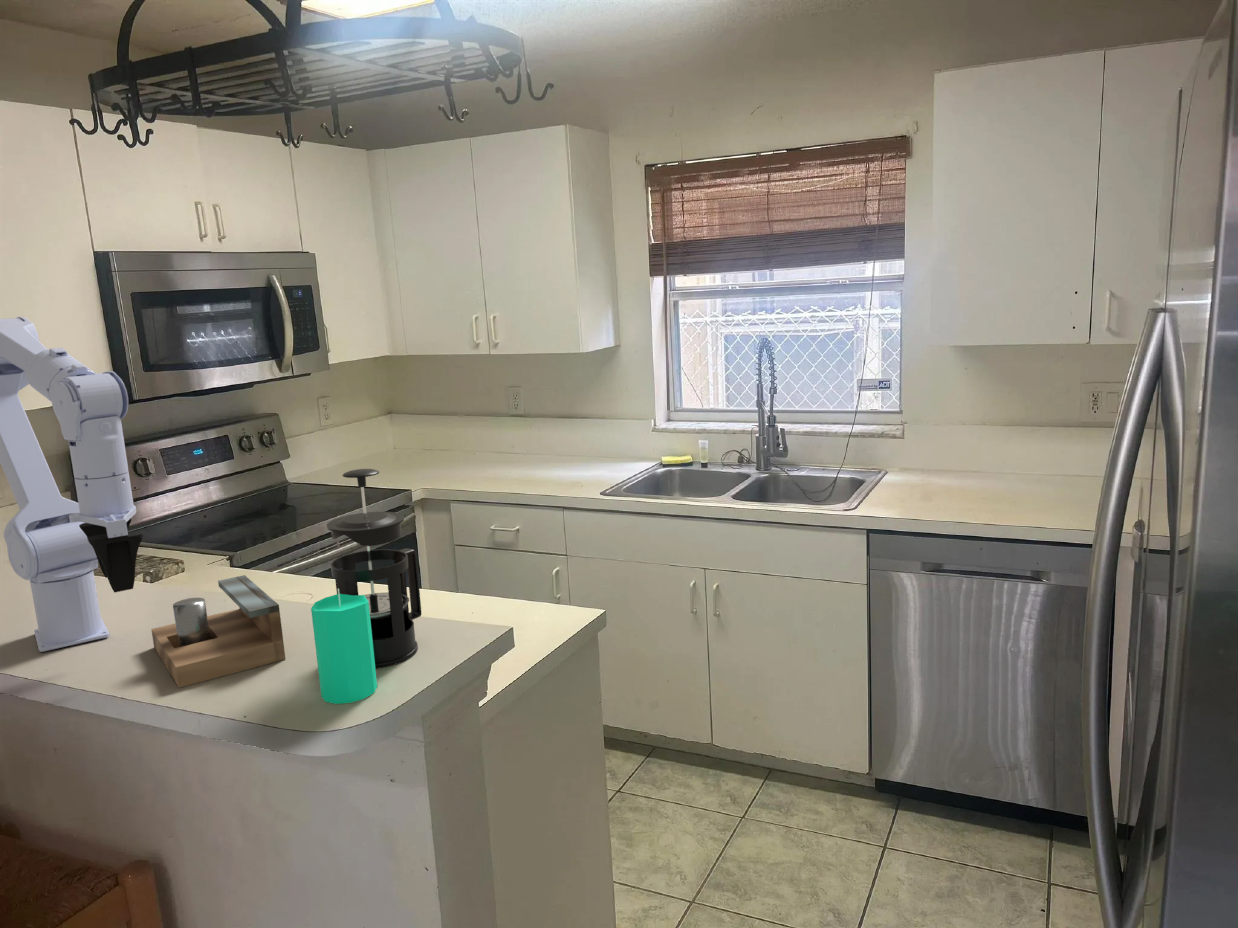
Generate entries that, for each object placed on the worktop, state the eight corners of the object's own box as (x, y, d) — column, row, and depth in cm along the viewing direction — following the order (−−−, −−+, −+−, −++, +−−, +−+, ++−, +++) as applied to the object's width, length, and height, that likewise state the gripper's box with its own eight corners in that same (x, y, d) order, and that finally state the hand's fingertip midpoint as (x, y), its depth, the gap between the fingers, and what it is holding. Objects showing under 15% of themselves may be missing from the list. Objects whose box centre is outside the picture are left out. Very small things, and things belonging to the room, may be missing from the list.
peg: (206, 647, 114) (198, 595, 113) (216, 655, 112) (209, 601, 111) (176, 656, 112) (168, 603, 111) (186, 664, 109) (178, 609, 108)
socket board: (154, 647, 115) (146, 595, 114) (250, 624, 122) (244, 574, 121) (178, 687, 103) (170, 629, 101) (285, 659, 110) (278, 604, 108)
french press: (366, 677, 103) (346, 482, 99) (318, 660, 109) (297, 475, 105) (444, 643, 112) (428, 464, 108) (396, 629, 118) (379, 457, 114)
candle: (361, 705, 96) (350, 598, 94) (310, 702, 97) (298, 597, 95) (386, 681, 102) (376, 580, 100) (338, 678, 103) (327, 579, 101)
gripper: (57, 471, 111) (74, 576, 114) (69, 488, 100) (88, 605, 102) (121, 463, 115) (136, 564, 118) (140, 479, 104) (156, 590, 106)
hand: (118, 582), depth 110 cm, fingers open, 7 cm apart
